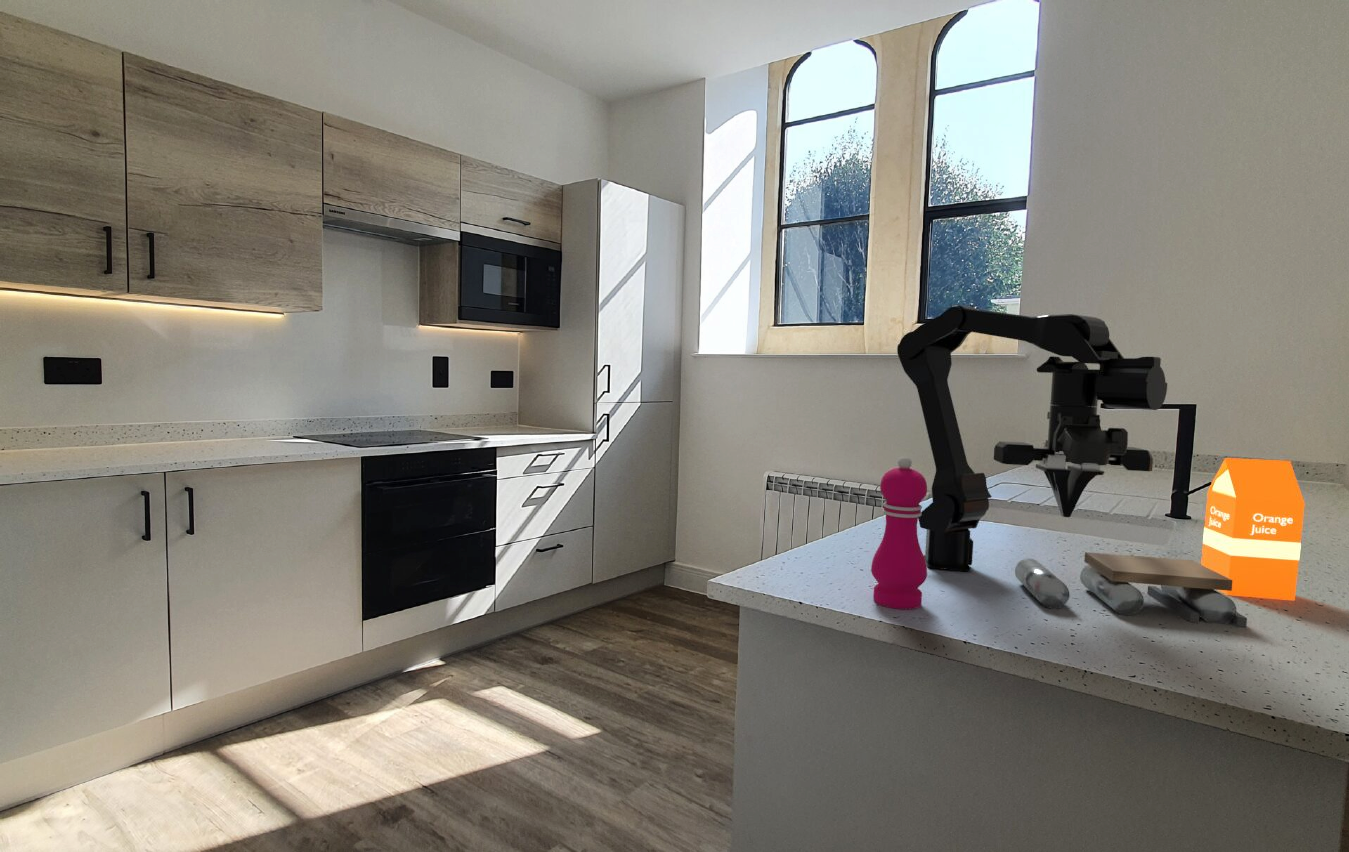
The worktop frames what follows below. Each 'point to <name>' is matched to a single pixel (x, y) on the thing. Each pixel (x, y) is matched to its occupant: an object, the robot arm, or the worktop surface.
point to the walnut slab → (1157, 571)
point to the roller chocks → (1186, 607)
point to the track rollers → (1057, 593)
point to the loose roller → (1204, 603)
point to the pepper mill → (900, 540)
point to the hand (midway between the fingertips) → (1065, 516)
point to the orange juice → (1254, 527)
